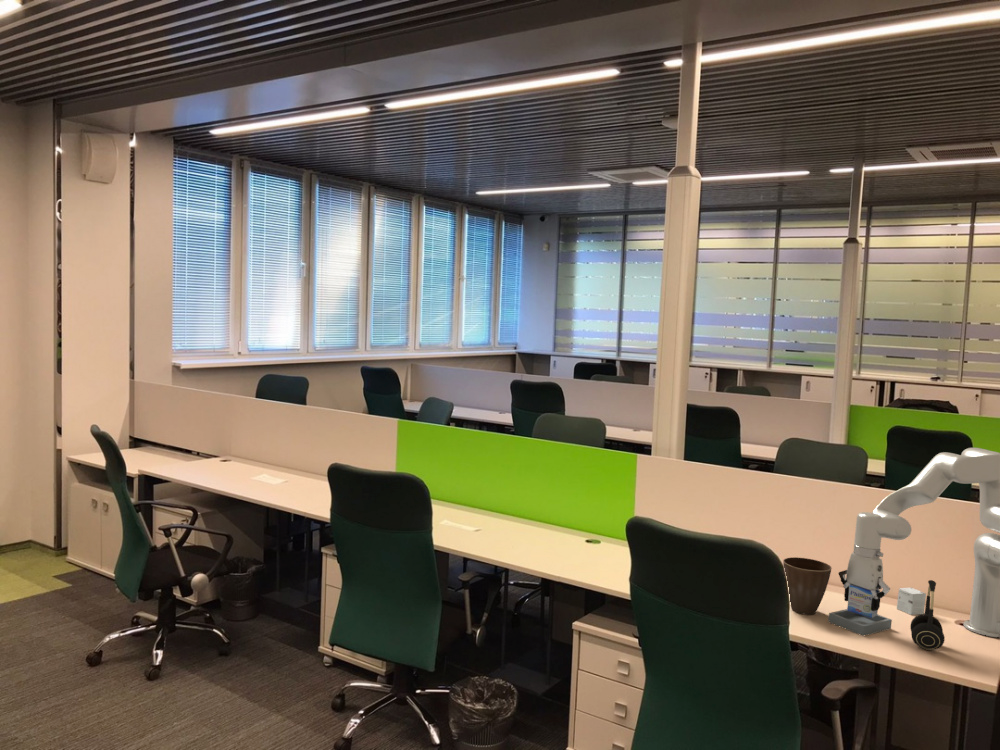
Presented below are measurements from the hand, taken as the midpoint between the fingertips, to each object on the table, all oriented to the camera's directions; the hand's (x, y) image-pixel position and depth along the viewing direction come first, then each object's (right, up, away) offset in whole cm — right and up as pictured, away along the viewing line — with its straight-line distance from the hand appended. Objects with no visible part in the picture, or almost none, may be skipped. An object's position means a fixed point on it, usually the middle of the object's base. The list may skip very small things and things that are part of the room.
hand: (861, 605), depth 243 cm
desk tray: (0, -7, 0) cm, 7 cm away
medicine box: (+1, -3, +1) cm, 3 cm away
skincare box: (+25, -8, +18) cm, 32 cm away
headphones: (+13, -9, -13) cm, 21 cm away
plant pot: (-14, -5, +11) cm, 19 cm away
